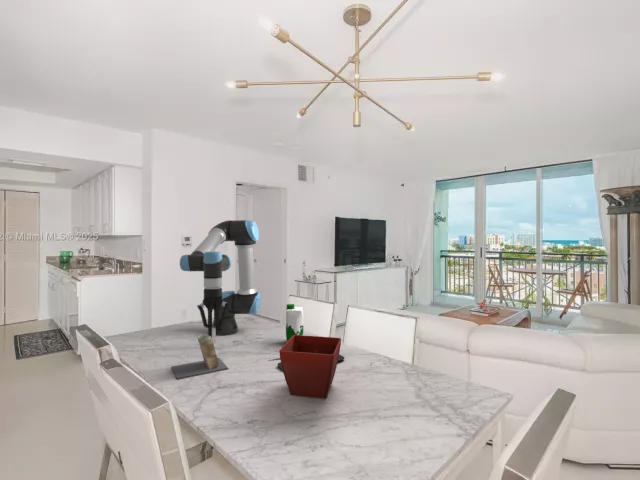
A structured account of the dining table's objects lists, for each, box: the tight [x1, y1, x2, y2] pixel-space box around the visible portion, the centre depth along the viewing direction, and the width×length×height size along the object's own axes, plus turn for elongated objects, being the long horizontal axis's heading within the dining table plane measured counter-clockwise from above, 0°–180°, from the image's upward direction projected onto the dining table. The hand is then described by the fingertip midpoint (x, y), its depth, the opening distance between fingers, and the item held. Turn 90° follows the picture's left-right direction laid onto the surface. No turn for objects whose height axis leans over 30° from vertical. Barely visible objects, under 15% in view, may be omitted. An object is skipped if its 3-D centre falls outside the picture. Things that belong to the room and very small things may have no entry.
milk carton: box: [285, 303, 304, 343], centre depth 180 cm, size 9×9×20 cm
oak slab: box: [197, 332, 219, 369], centre depth 147 cm, size 4×9×12 cm, turn 32°
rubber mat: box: [170, 357, 229, 380], centre depth 146 cm, size 20×14×1 cm
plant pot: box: [278, 334, 342, 400], centre depth 126 cm, size 19×19×17 cm
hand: (213, 342), depth 148 cm, fingers closed
